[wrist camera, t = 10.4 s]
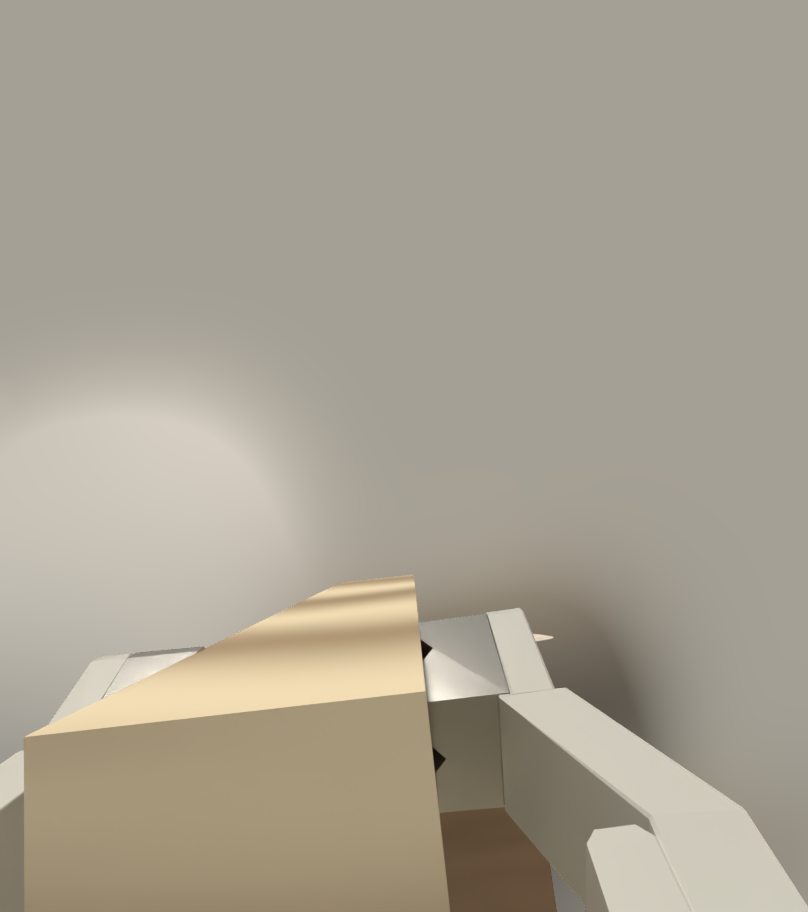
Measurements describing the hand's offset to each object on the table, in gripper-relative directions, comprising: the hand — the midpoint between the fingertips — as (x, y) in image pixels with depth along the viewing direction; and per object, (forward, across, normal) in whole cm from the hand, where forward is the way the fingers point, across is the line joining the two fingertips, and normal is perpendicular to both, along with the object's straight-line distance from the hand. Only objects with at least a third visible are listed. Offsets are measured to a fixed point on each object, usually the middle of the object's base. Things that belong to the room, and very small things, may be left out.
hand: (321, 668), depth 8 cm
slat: (+4, 0, -4) cm, 5 cm away
